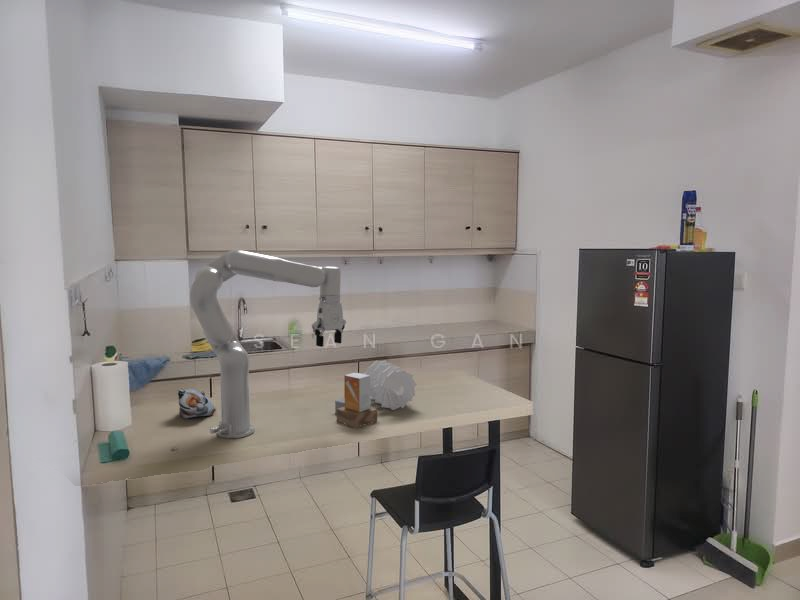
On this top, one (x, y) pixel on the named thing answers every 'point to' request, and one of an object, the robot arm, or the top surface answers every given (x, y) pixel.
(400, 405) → the spiral staircase
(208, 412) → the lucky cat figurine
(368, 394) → the small box
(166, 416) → the top surface
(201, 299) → the robot arm
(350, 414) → the walnut block
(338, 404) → the slate-grey cube
